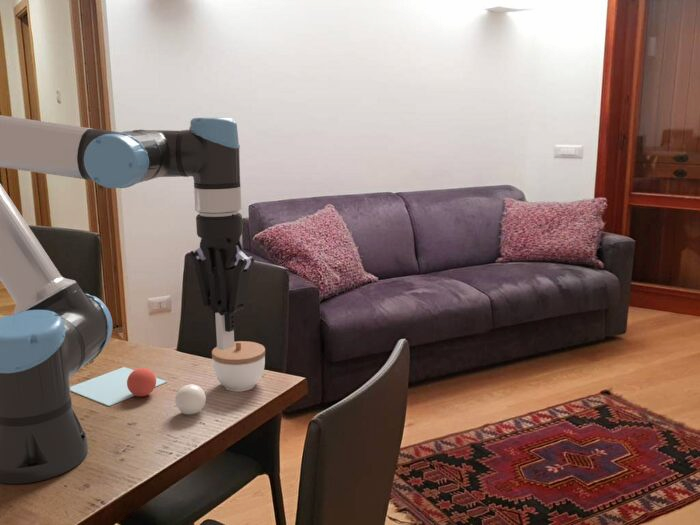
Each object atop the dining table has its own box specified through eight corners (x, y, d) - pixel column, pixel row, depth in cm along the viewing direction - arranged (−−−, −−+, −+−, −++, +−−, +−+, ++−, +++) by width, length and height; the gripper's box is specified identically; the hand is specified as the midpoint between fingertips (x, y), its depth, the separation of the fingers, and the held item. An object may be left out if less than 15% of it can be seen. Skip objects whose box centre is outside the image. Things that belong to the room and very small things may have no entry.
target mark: (167, 382, 138) (167, 381, 138) (109, 406, 127) (108, 405, 127) (124, 367, 146) (124, 366, 146) (66, 389, 134) (65, 388, 134)
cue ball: (194, 422, 120) (192, 393, 119) (170, 416, 123) (168, 388, 121) (212, 409, 125) (211, 382, 124) (188, 404, 127) (187, 377, 126)
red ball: (143, 403, 128) (141, 376, 127) (121, 398, 130) (119, 371, 129) (162, 392, 133) (161, 366, 132) (141, 387, 135) (139, 362, 134)
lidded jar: (271, 376, 141) (270, 334, 139) (259, 397, 131) (258, 352, 129) (221, 374, 142) (220, 332, 140) (206, 395, 132) (204, 350, 130)
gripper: (263, 212, 109) (268, 348, 115) (208, 206, 117) (215, 334, 122) (231, 219, 103) (238, 362, 109) (174, 212, 111) (183, 346, 116)
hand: (225, 347), depth 115 cm, fingers closed
